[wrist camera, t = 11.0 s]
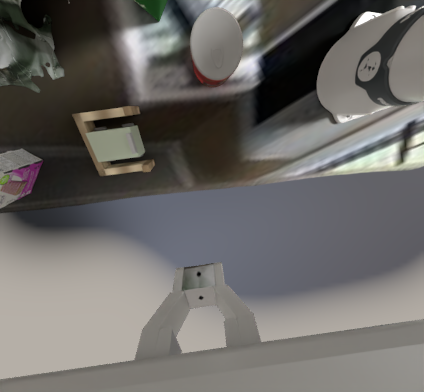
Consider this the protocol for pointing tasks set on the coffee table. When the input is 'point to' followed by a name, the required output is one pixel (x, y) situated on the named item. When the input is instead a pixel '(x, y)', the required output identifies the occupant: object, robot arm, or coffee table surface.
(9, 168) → the candy bar box
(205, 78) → the canned food
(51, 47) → the rose bouquet
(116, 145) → the pale green box
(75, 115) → the frame
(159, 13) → the milk carton
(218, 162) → the coffee table surface
